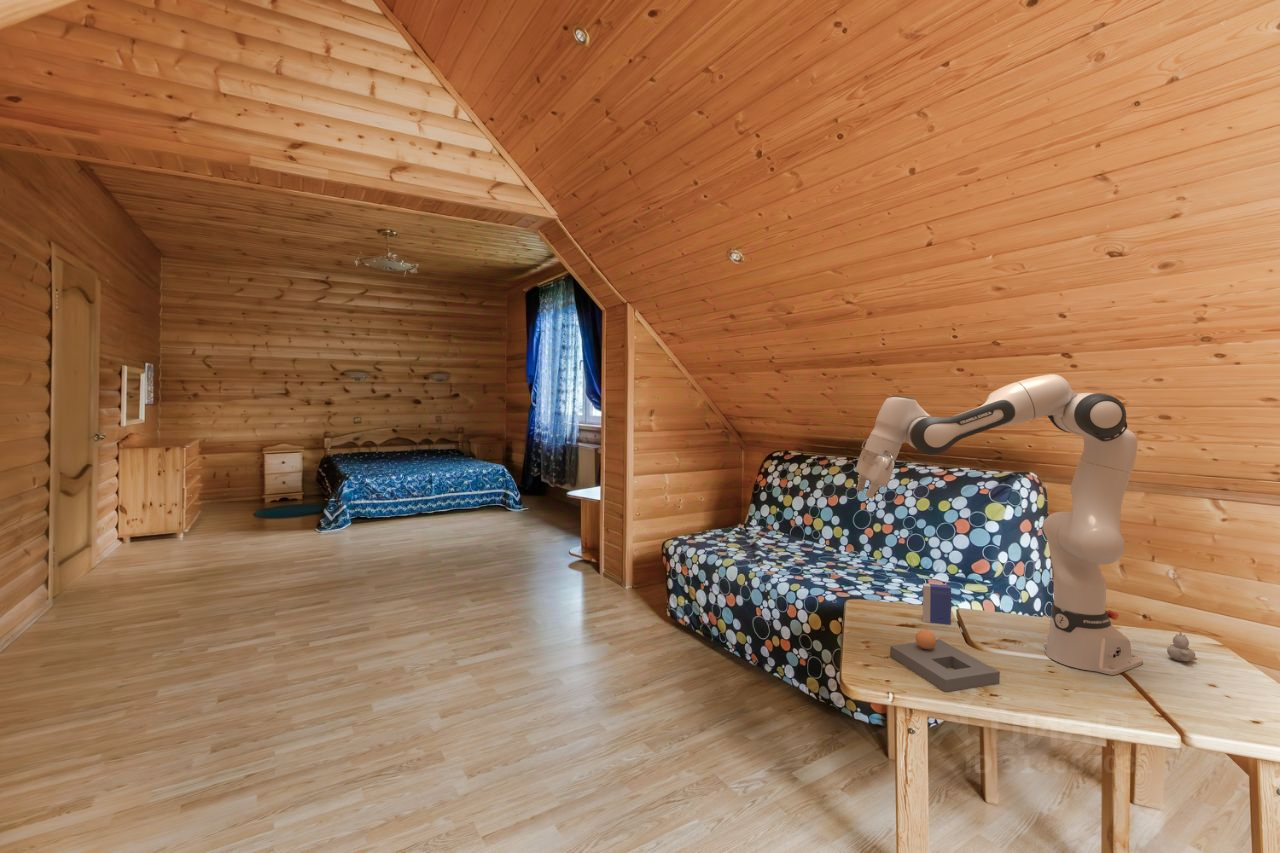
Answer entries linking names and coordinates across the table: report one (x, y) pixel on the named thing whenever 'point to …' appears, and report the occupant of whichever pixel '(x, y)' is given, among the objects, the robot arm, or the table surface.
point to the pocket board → (945, 666)
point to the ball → (925, 639)
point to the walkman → (936, 603)
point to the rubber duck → (1180, 649)
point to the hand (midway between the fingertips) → (864, 493)
